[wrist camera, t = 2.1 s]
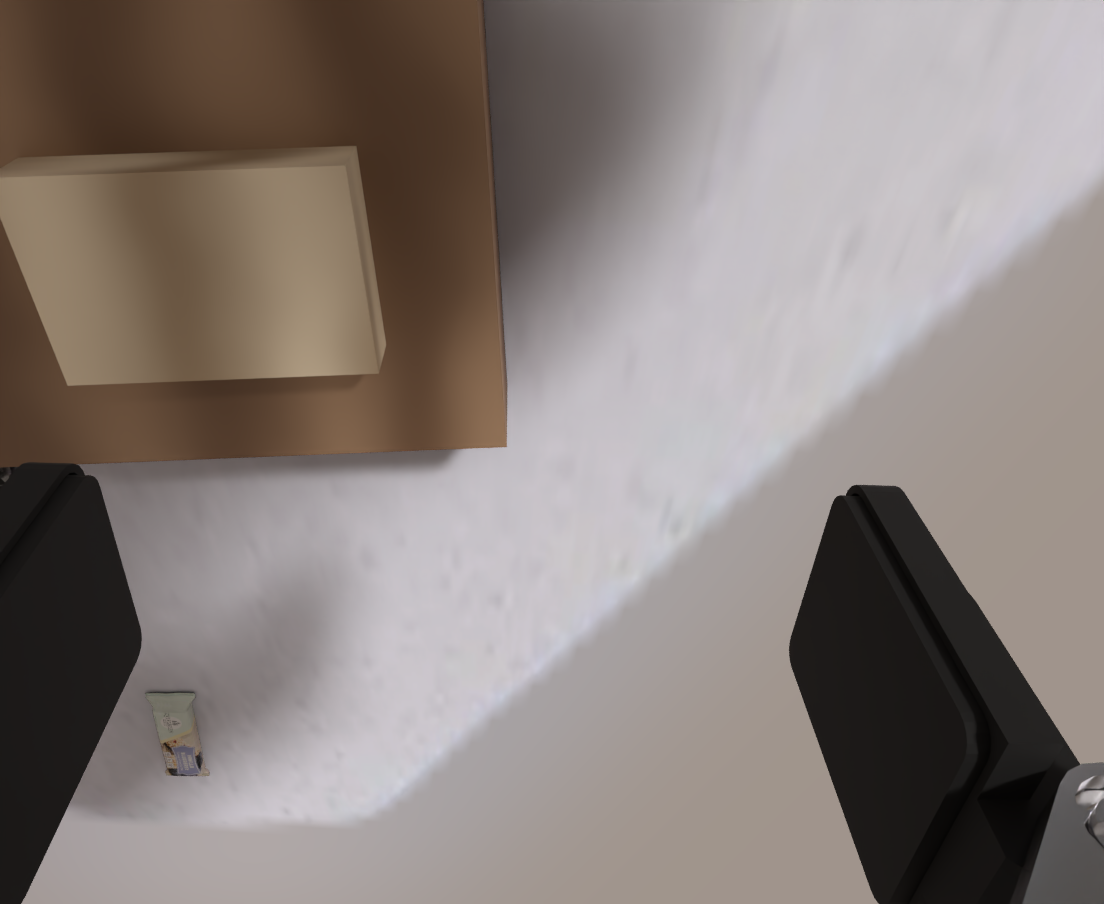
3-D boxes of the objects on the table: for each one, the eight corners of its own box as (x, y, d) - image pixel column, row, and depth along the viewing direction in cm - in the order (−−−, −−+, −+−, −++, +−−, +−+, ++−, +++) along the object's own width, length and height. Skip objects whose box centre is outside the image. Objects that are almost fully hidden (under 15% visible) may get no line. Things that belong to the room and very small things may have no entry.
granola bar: (148, 682, 41) (141, 700, 40) (197, 683, 41) (191, 701, 41) (168, 767, 45) (162, 785, 44) (214, 768, 45) (208, 785, 44)
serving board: (480, -44, 24) (475, -29, 21) (507, 386, 32) (506, 446, 29) (-168, -24, 24) (-277, -5, 20) (22, 405, 32) (-34, 468, 28)
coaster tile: (356, 146, 23) (345, 165, 22) (386, 344, 26) (378, 373, 25) (18, 157, 23) (-16, 178, 21) (92, 355, 26) (67, 385, 25)
